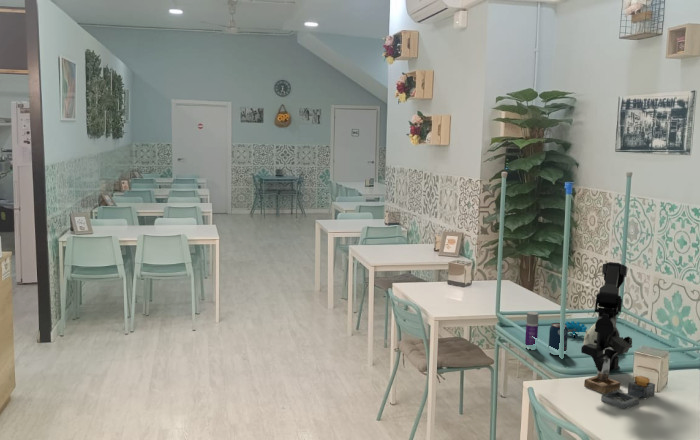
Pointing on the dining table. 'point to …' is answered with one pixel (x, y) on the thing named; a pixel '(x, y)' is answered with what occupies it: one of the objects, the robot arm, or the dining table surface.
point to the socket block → (629, 395)
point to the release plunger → (642, 380)
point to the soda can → (557, 336)
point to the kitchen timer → (590, 336)
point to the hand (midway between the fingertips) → (603, 370)
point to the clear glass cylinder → (604, 370)
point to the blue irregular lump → (575, 327)
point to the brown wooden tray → (602, 385)
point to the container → (531, 328)
